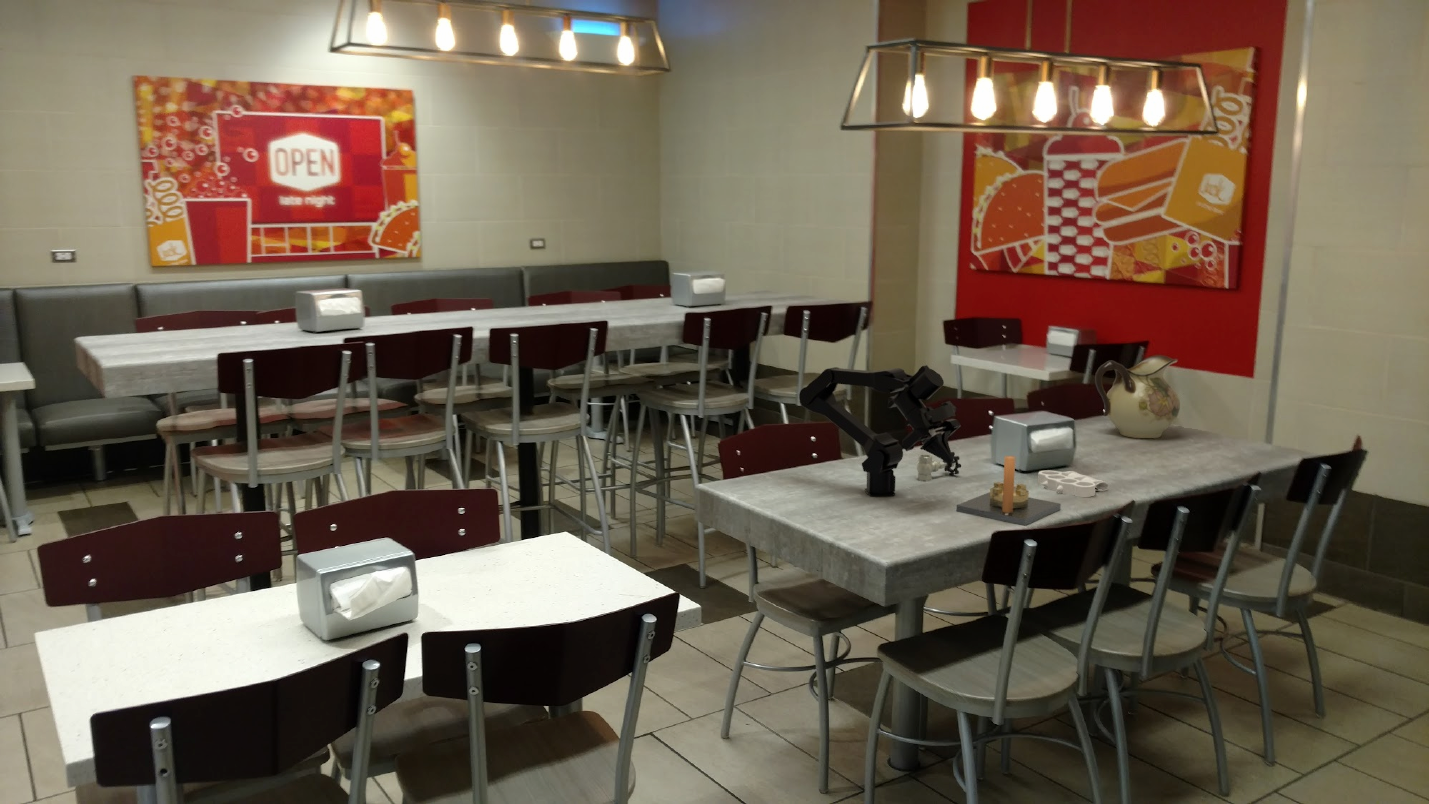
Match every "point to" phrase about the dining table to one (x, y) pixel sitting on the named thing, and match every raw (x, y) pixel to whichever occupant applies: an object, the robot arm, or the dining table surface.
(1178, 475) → the dining table surface
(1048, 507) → the steel plate
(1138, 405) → the pitcher
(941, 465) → the valve
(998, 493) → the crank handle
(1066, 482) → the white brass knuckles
